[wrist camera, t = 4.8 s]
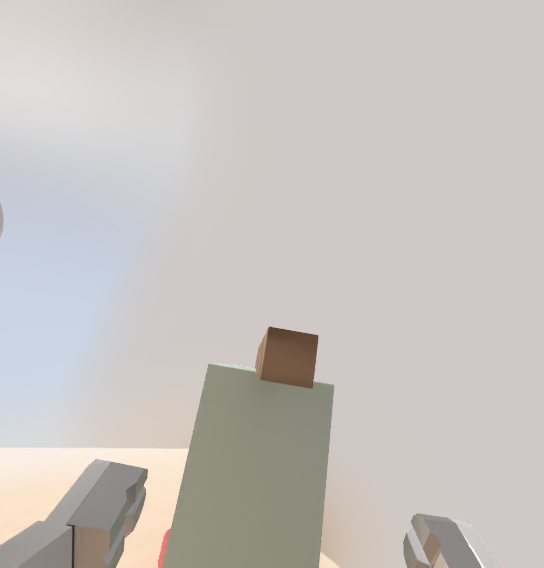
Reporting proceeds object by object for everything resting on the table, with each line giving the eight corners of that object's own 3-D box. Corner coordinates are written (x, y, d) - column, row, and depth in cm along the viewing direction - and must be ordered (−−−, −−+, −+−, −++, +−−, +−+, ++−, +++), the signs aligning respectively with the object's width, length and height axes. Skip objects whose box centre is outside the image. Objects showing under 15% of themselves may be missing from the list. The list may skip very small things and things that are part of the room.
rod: (312, 389, 11) (318, 335, 12) (260, 380, 11) (268, 326, 12) (273, 371, 32) (276, 351, 33) (254, 367, 32) (258, 348, 33)
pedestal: (286, 950, 12) (334, 385, 20) (80, 926, 12) (208, 363, 20) (269, 668, 24) (304, 376, 32) (163, 652, 24) (224, 362, 31)
